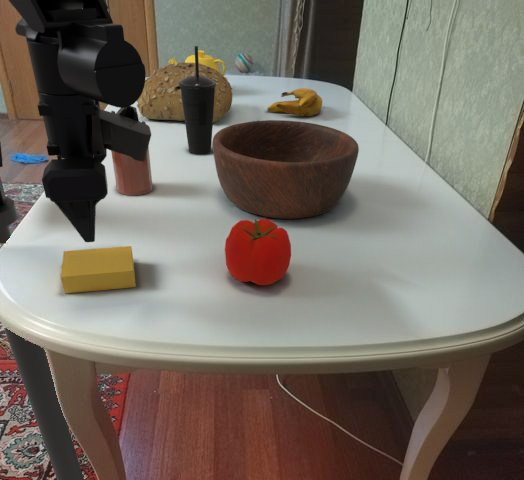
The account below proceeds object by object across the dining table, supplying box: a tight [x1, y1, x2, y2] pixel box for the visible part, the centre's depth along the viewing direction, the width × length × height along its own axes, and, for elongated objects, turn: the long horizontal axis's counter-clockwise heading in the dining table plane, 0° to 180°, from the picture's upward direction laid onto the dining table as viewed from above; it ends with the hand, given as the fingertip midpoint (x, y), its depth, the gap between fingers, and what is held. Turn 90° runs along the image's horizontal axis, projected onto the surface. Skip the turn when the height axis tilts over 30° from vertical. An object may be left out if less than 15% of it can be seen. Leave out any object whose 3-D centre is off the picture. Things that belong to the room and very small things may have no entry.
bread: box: [136, 61, 234, 123], centre depth 131 cm, size 24×21×12 cm
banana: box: [267, 87, 323, 117], centre depth 139 cm, size 15×19×6 cm
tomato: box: [224, 218, 292, 286], centre depth 68 cm, size 9×9×8 cm
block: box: [60, 245, 137, 294], centre depth 68 cm, size 9×7×2 cm
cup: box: [110, 146, 153, 196], centre depth 91 cm, size 6×6×8 cm
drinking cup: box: [179, 45, 216, 156], centre depth 105 cm, size 8×8×20 cm
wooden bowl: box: [211, 119, 360, 220], centre depth 89 cm, size 25×25×10 cm
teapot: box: [167, 50, 229, 82], centre depth 151 cm, size 14×14×11 cm
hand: (90, 225), depth 64 cm, fingers open, 9 cm apart
